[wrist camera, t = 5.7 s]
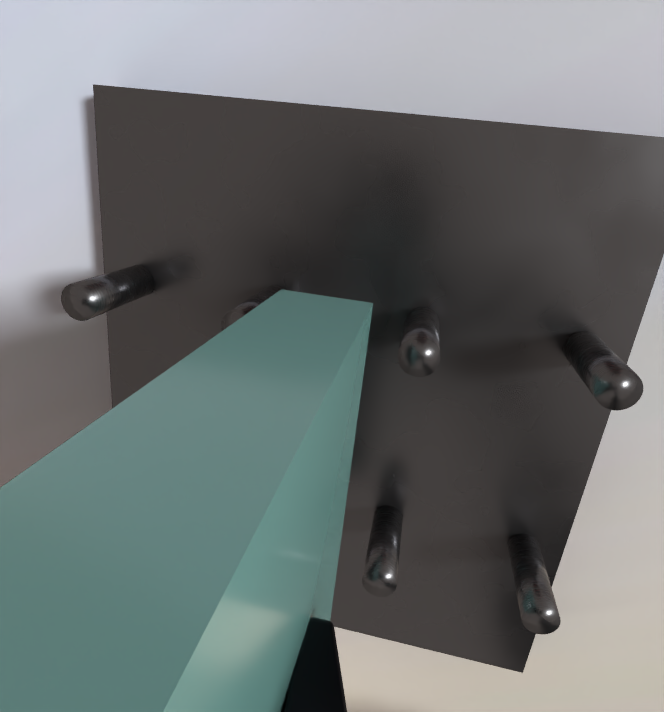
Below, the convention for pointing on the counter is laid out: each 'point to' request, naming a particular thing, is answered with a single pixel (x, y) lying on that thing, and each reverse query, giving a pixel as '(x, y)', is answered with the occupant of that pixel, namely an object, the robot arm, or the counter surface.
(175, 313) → the dish rack
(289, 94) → the counter surface
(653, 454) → the counter surface
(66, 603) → the teal plate
